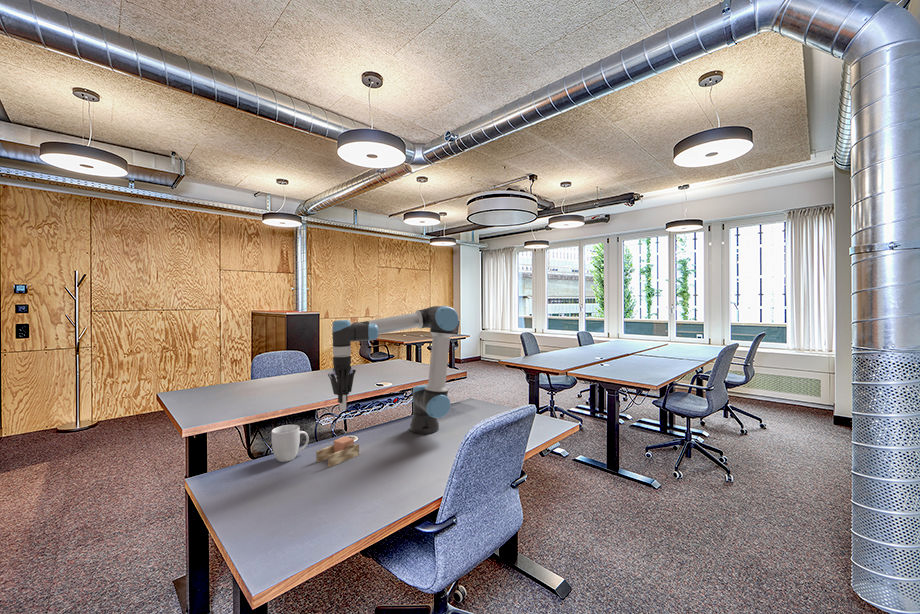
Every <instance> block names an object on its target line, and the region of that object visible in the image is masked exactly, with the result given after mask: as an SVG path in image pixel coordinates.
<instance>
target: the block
mask: <svg viewBox="0 0 920 614" xmlns="http://www.w3.org/2000/svg"><path fill="white" fill-rule="evenodd" d="M351 443H352V444H354V445H355V439H354V438H351V437H348V436H345V435H344V436H343V437H340V438H337V439H334V440H333V445H334V453H336V452H338V451H341V450H343V449H346V445H349V444H351Z"/></svg>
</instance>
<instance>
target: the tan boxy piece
mask: <svg viewBox="0 0 920 614" xmlns="http://www.w3.org/2000/svg"><path fill="white" fill-rule="evenodd" d="M359 455H360V444H359V443H356V444H355V443H354V444H352V443H351V444H349V445H346V449H343V450H341V451H338V452H336V453H334V444H332V445H329V446H327V447H324V448H321V449H319V450H316V451H315V457H316V459H315V461H316V463H320V462H323V461H325V460H327V468H331V467H334V466H336V465H338V464H341V463H343V462H346V461H348V460H350V459H353V458H354V457H358V456H359Z"/></svg>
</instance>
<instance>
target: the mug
mask: <svg viewBox="0 0 920 614" xmlns="http://www.w3.org/2000/svg"><path fill="white" fill-rule="evenodd" d="M300 429H301V428H300V425H298V424H285V425H280V426H278V427H274V428H273V429H272V430H271V448H272V452H273V456H274V457H275V458H276V460H277V461H278V462H280V463H285V462H290V461H293V460H294V459H295V458H296V457H297V454H298V452H301V451H303V449H305V448H306V447H307V446H308V445H309V441H310V440H309V439H310V437H309V435H308V433H307V432H306V431H303V430H300ZM302 434H304V435H305V439H306V440H305V443H304V444H303V445H302V447H300V441H301V440H300V439H301V437H300V436H301V435H302Z"/></svg>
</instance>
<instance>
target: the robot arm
mask: <svg viewBox="0 0 920 614" xmlns="http://www.w3.org/2000/svg"><path fill="white" fill-rule="evenodd" d="M459 320H460V318H459V314H458V312H457V311H456V310H455V308H453V307H451V306H447V305H441V306H439V305H434V306H430V307H426V308H422V309H417V310H415V312H411V313H406V314H400V315H395V316H388V317H383V318H377V319H369V320H365V321H357V322H352V323H351V321H350V320H349V319H347V320H346V319H344V320H343V319H342V320H341V319H340V320H339V319H337V320H334V321H333V322H332V329H331V330H332V333H331V335H332V356H333V357H332V365H333V368H332V372H330V373H329V372H328V374H327V377H328V378H329V380H330V384H331V387H332V392H333V395H335V396H337V402H338V404H339V410H340V411H346V410H347V402H348V399H349V397H348V396H349V395H350V393H352V390H353V383H354V377H355V374H356V372H357V370H356V369H353V368H352V366H351V364H352V357H351V354H352V347H351V346H352V345H351V344H352V342H363V341H364V342H367V341H369V342H370V341H371V342H372V341H375V340H377V339H378V337H379V335H383V334H388V333H389V334H390V333H394V332H399V331H404V330H410V329H415V328H417V329H429V328H430V330H429V332H430V334H431V336H432V341H431V352H430V360H429V361H430V362H429V369H428V371H429V372H428V381H427V384H419V385H415V386H413V388H412V393H411V394H412V417H411V421H410V425H409V431H410V432H411V433H413V434H418V435H419V434H420V435H425V434H428V435H429V434H433V433H435V432H437V431H439V430H440V423H439V422H438V419H441V418H443V417H445V416H446V415H448V413H449V411H450V410H451V404H452V403H451V400H450V399H449V397H448V395H449V388H448V387H447V386H446V384H447V374H448V363H449V361H448V360H449V354H450V353H449V351H450V341H451V337H452V336H453V335H454V332H455V329H456V328H457V326H458V325H459Z"/></svg>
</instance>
